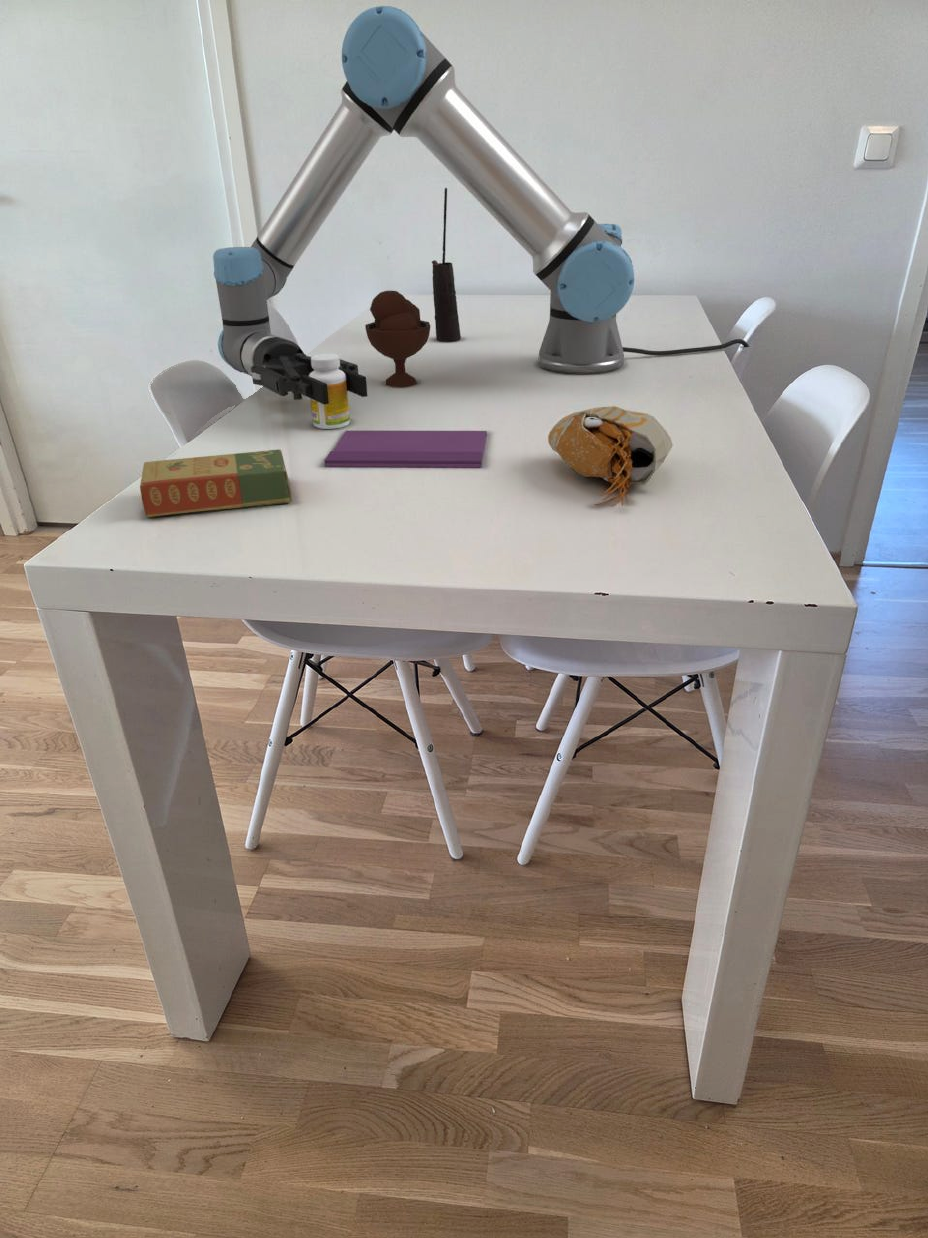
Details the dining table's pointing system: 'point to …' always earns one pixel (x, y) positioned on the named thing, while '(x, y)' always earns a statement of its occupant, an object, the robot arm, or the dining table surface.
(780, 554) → the dining table surface
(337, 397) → the supplement bottle
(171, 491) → the carton
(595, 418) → the nautilus
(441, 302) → the butter churn
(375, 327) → the ice cream bowl
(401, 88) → the robot arm
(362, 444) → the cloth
